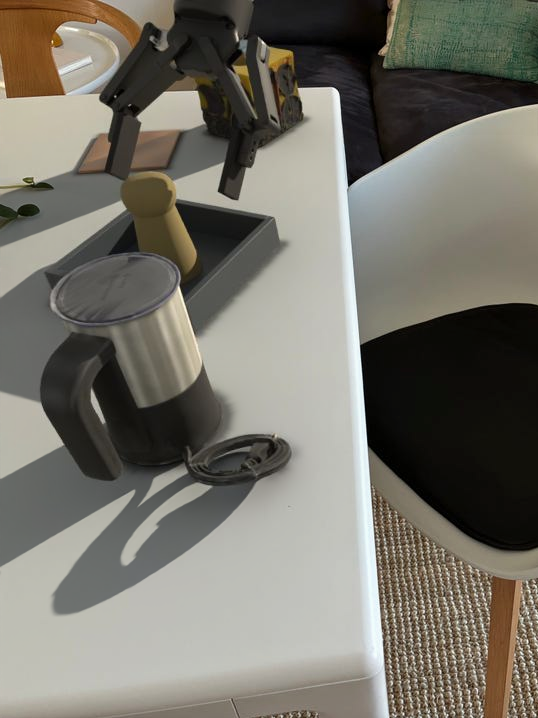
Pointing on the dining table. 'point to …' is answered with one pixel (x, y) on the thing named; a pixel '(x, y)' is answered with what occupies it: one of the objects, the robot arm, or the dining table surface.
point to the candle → (284, 89)
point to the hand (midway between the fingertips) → (170, 186)
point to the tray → (212, 243)
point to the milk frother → (138, 377)
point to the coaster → (147, 156)
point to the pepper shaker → (160, 221)
